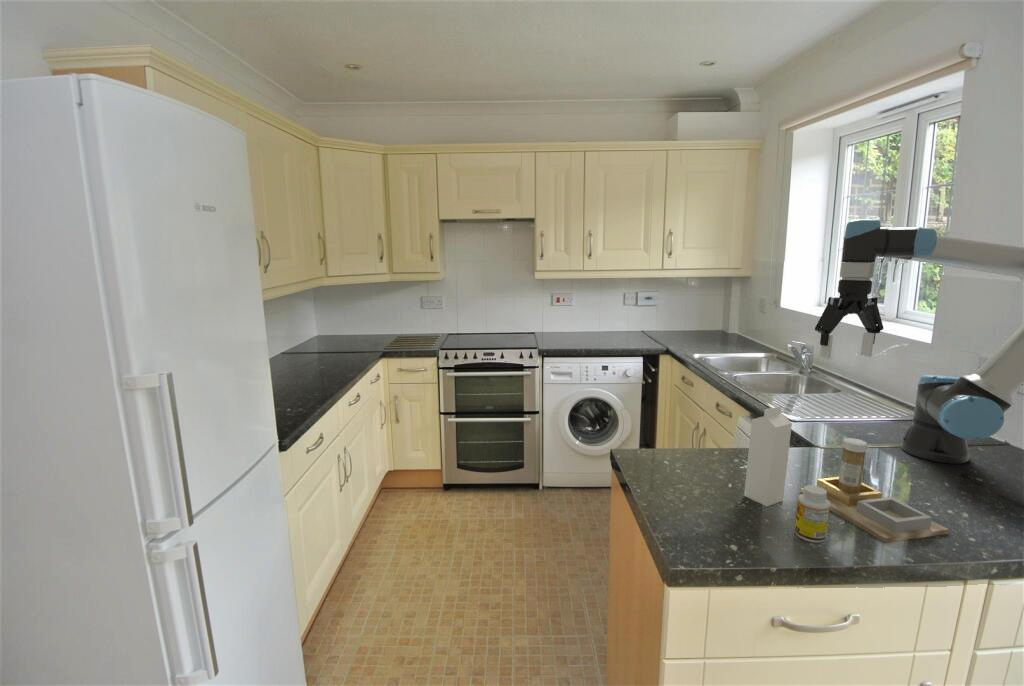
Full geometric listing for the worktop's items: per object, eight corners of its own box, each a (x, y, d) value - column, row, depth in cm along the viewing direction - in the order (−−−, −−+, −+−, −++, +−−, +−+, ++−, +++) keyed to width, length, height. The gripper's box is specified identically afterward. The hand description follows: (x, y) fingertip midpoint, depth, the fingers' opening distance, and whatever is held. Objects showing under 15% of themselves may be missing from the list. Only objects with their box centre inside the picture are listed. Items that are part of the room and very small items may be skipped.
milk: (783, 501, 118) (794, 409, 114) (766, 507, 115) (777, 413, 111) (759, 490, 123) (769, 402, 119) (743, 495, 120) (752, 406, 116)
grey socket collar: (889, 507, 113) (891, 496, 113) (930, 528, 105) (932, 517, 104) (856, 511, 111) (857, 500, 111) (894, 533, 103) (896, 522, 102)
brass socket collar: (847, 485, 124) (848, 475, 123) (881, 503, 115) (882, 492, 115) (816, 488, 122) (817, 479, 122) (848, 507, 113) (849, 496, 113)
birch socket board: (855, 486, 126) (855, 482, 126) (947, 533, 105) (948, 529, 105) (800, 492, 122) (800, 488, 122) (884, 542, 101) (885, 538, 101)
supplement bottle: (797, 526, 107) (802, 480, 105) (827, 535, 103) (834, 488, 102) (791, 537, 103) (796, 489, 101) (822, 547, 99) (829, 498, 97)
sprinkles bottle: (863, 497, 118) (871, 442, 116) (854, 502, 116) (862, 446, 113) (841, 489, 122) (849, 435, 119) (832, 494, 119) (839, 439, 117)
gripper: (880, 278, 143) (870, 352, 147) (805, 278, 137) (796, 355, 141) (906, 279, 136) (895, 357, 139) (828, 279, 130) (818, 361, 134)
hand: (845, 356), depth 140 cm, fingers open, 13 cm apart
